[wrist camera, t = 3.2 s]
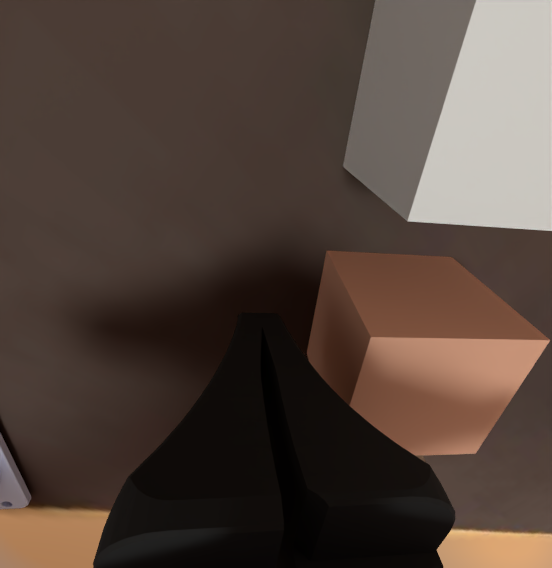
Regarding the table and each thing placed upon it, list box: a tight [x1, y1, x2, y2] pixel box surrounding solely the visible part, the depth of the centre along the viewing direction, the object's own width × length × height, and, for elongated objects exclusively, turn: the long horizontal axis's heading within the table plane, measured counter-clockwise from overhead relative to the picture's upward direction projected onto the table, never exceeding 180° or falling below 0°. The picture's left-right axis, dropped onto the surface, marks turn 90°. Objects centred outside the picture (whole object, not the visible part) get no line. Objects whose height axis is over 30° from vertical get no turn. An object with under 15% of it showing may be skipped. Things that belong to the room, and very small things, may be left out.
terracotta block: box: [307, 251, 550, 456], centre depth 12 cm, size 5×5×5 cm
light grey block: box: [343, 0, 552, 231], centre depth 8 cm, size 5×5×5 cm
